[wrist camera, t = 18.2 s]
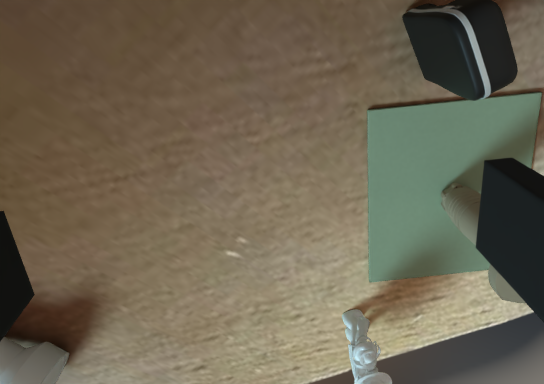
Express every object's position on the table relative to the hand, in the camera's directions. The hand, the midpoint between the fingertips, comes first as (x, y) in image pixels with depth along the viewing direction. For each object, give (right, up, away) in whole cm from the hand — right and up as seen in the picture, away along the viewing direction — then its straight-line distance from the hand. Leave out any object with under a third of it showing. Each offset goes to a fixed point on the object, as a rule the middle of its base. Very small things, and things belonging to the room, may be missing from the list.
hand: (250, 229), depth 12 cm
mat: (+19, +1, +35) cm, 40 cm away
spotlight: (-29, -17, +41) cm, 53 cm away
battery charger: (+15, +15, +29) cm, 36 cm away
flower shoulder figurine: (+10, -15, +42) cm, 45 cm away
